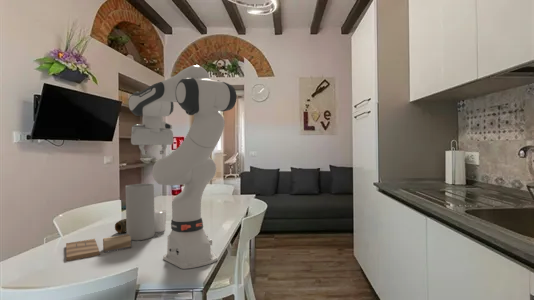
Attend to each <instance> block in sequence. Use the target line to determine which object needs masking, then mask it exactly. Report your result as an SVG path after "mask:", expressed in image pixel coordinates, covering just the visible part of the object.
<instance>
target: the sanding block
mask: <svg viewBox="0 0 534 300" xmlns="http://www.w3.org/2000/svg"><path fill="white" fill-rule="evenodd" d="M131 241H132V240H131V237H130V235H129V234H127V233H126V234H123V235H117V236H109V237H103V238H102V246H103V247H102V250H103V253H111V252H118V251H123V250H127V249H131V248H132V243H131ZM117 250H118V251H117Z"/></svg>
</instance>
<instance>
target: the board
mask: <svg viewBox="0 0 534 300" xmlns="http://www.w3.org/2000/svg"><path fill="white" fill-rule="evenodd" d="M65 248H66V262H70V261H73V260H79V259H83V258H84V259H85V258H89V257H95V256H100V249H99V246H98V244H97V241H96V238H91V239H85V240H78V241H72V242H71V241H70V242H66V243H65Z"/></svg>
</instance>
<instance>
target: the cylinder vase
mask: <svg viewBox="0 0 534 300" xmlns="http://www.w3.org/2000/svg"><path fill="white" fill-rule="evenodd" d="M154 210H155V184H153V183H136V184H135V183H134V184H128V185H127V184H126V185H125V219H126V228H127V232H126V235H127V234H129V235H130V237H131V241H144V240H148V239H151V238H153V237H154V236H155V234H156V232H155V218H154Z"/></svg>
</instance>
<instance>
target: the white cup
mask: <svg viewBox="0 0 534 300" xmlns="http://www.w3.org/2000/svg"><path fill="white" fill-rule="evenodd" d="M154 218H155V233H162V232H164V231H166V227H167V226H166V224H167V223H166V222H167V210H165V209H154Z"/></svg>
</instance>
